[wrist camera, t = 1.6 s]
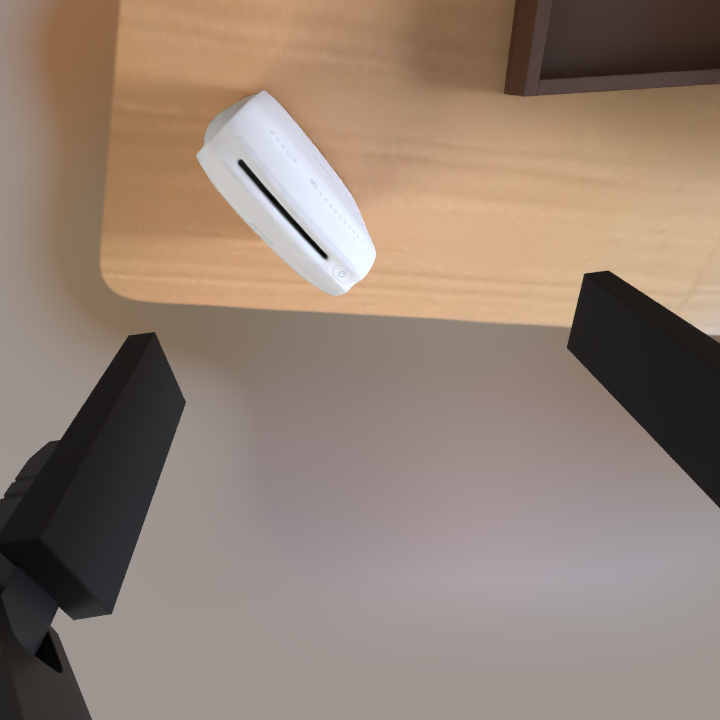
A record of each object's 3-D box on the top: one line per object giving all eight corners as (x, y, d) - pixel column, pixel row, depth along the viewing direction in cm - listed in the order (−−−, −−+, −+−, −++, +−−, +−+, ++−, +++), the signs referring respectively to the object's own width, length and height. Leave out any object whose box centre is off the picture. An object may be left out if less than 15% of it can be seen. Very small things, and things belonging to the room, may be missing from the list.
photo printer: (365, 208, 31) (395, 274, 21) (322, 244, 32) (330, 324, 22) (264, 76, 26) (237, 79, 16) (216, 126, 27) (163, 159, 17)
